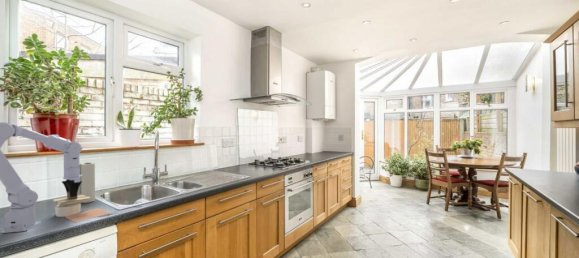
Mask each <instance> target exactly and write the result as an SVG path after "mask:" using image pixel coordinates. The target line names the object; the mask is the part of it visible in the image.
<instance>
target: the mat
mask: <svg viewBox="0 0 579 258" xmlns="http://www.w3.org/2000/svg"><path fill="white" fill-rule="evenodd" d="M109 214H111V212H110V211H108V210H105V209H103V208H99V207H97V208H93V209H89V210H85V211H80V212H79V213H77V214H74V215H69V216H63V218H66V219H68V220H69V221H72V222H73V223H78V222H83V221H86V220H91V219H94V218H98V217H103V216H105V215H109Z"/></svg>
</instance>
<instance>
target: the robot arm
mask: <svg viewBox="0 0 579 258" xmlns="http://www.w3.org/2000/svg"><path fill="white" fill-rule="evenodd" d="M12 137H14V138H15V137H21V138H26V139H28V140H33V141H35V142H39V143H42V144H43V146H44V147H45V148H48V149H51V150H55V151H59V152H61V153H63V177H62V178H63V181H61V183H62V184H63V186H64V189H65V191H66V193H67V192H68V191H69V193H70V196H71V197H73V196H77V192H78V189H79V186H80V184H81V183H82V181H80V177H83V175H80V167H79V166H80V164H81V163H80V154H81V152H82V150H83V147H82V145H81V144H80V143H79V142H76V141H71V139H69V138H67V139H66V138H64V137H60V135H59V134H50V135H45V134H42V133H39V132H37V131H34V130H31V129H28V128H27V127H23V126H20V125H17V124H11V123H8V122H0V182H1V184H3V187H5V192H6V194H7V201H8V202H9V203H11V204H10V206H9V211H8V212H6V213H5V214H4V216H3V230H2V231H1V232H0V233H1V234H7V233H8V234H9V233H17V232H26V231H28V230H30V229H31V228H34V227H35V226H37V225H39V224H40V223H42V221H36V218H37V217H36V202H37V201H38V199H39V195H38V193H37V192H36V191H35V190H32V189H31V188H30V187H29V186H28V185H27V184H25V182H24V181H23V180H22V178H21V177H20V175H18V173H17V171H16V170H15V169H14V167H13V166H12V164H11V163H10V161H9V159H8V158H7V157H6V155H5V154H4V152H3V151H2V149H1V148H2V147H3V146H4V144H5V142H6V141H7V140H9V139H10V138H12Z"/></svg>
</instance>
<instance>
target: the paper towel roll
mask: <svg viewBox="0 0 579 258" xmlns="http://www.w3.org/2000/svg"><path fill="white" fill-rule="evenodd" d="M79 164H80V166H79V167H80V175H83V177H80V181H82V183H81V184H80V186H79V189H78V192H77V195H81V194H82V195H85V196H88V197H90V198H91V199H90V200H85V201H81V202H80V203H81V204H84V203H85V204H89V203H93V202H96V172H95V171H96V169H95V168H96V164H95V162H84V163H79Z"/></svg>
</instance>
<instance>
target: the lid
mask: <svg viewBox="0 0 579 258" xmlns="http://www.w3.org/2000/svg"><path fill="white" fill-rule="evenodd" d="M90 199H91V198H90V197H88V196H85V195H82V194H81V195H77V196H73V197H71V196H70V193H69V191H68V192H66V197H61V198H54V199H53V200H52V202H53V203H56V204H57V205H66V204H71V203H76V202H80V203H82V202H81V201H85V200H90Z"/></svg>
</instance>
